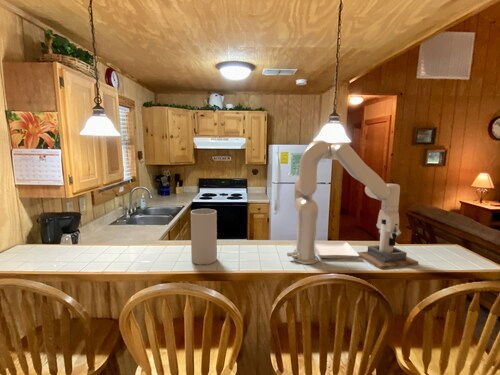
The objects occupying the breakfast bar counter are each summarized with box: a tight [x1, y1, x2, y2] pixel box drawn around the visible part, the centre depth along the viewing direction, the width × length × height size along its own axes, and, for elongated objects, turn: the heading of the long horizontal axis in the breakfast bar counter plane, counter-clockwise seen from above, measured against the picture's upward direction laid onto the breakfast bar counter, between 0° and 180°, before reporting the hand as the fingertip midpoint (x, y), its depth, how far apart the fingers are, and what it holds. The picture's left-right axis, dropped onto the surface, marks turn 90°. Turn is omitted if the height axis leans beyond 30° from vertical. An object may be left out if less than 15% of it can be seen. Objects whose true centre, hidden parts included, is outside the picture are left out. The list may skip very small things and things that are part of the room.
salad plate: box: [315, 240, 360, 260], centre depth 148 cm, size 21×21×3 cm
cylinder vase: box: [190, 208, 218, 265], centre depth 135 cm, size 12×12×25 cm
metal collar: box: [367, 244, 407, 263], centre depth 139 cm, size 12×12×4 cm
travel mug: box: [379, 219, 394, 254], centre depth 138 cm, size 6×7×20 cm
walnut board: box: [356, 250, 419, 270], centre depth 139 cm, size 22×18×2 cm
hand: (386, 242), depth 138 cm, fingers closed on travel mug, 6 cm apart
